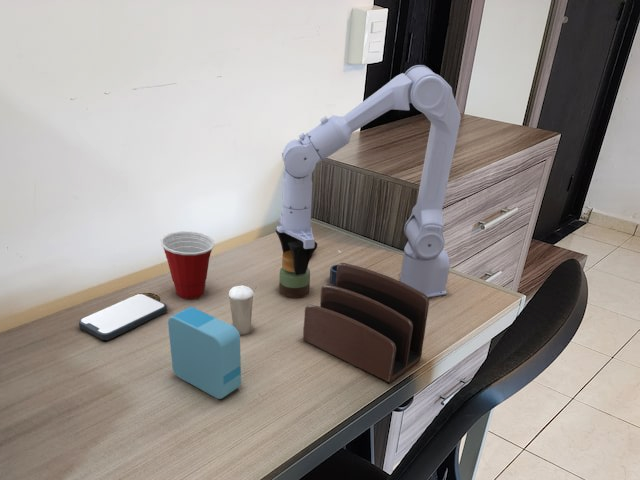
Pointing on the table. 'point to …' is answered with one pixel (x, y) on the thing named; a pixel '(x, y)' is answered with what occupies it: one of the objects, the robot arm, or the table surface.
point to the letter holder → (369, 321)
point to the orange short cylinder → (288, 261)
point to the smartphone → (122, 316)
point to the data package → (205, 352)
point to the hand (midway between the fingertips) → (295, 267)
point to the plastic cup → (188, 261)
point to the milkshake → (241, 308)
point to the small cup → (333, 274)
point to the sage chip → (294, 278)
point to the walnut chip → (294, 291)
